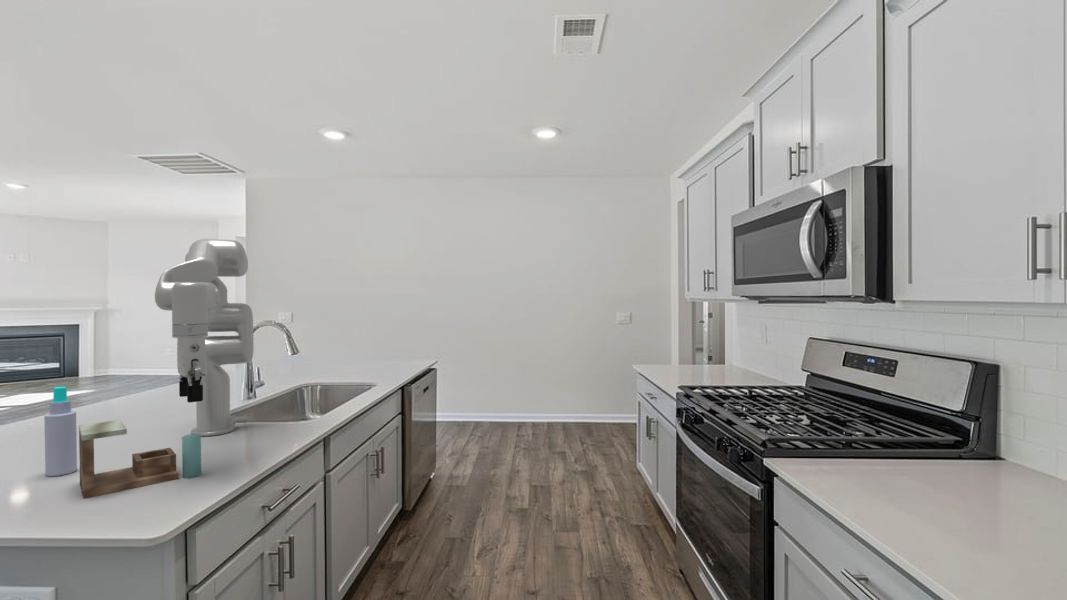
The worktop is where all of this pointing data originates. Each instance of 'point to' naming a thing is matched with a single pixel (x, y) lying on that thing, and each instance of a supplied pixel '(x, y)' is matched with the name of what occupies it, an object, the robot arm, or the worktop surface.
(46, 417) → the spray bottle
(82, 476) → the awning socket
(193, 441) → the peg
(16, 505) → the worktop surface
